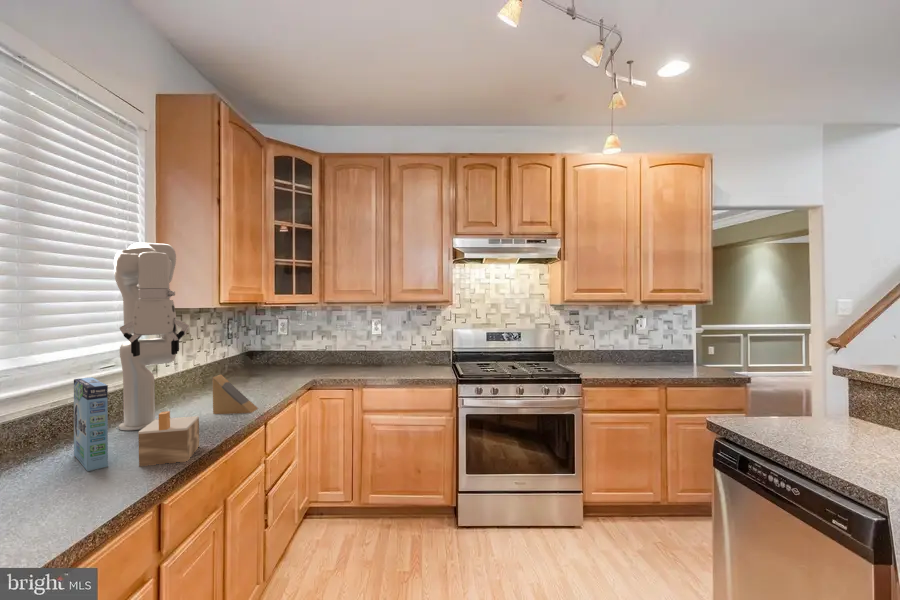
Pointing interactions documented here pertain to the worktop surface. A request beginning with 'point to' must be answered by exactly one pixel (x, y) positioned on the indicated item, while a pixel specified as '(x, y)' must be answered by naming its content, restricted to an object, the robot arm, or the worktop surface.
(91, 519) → the worktop surface
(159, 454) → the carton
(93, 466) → the gum box
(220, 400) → the sandwich container
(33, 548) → the worktop surface
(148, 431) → the lid
